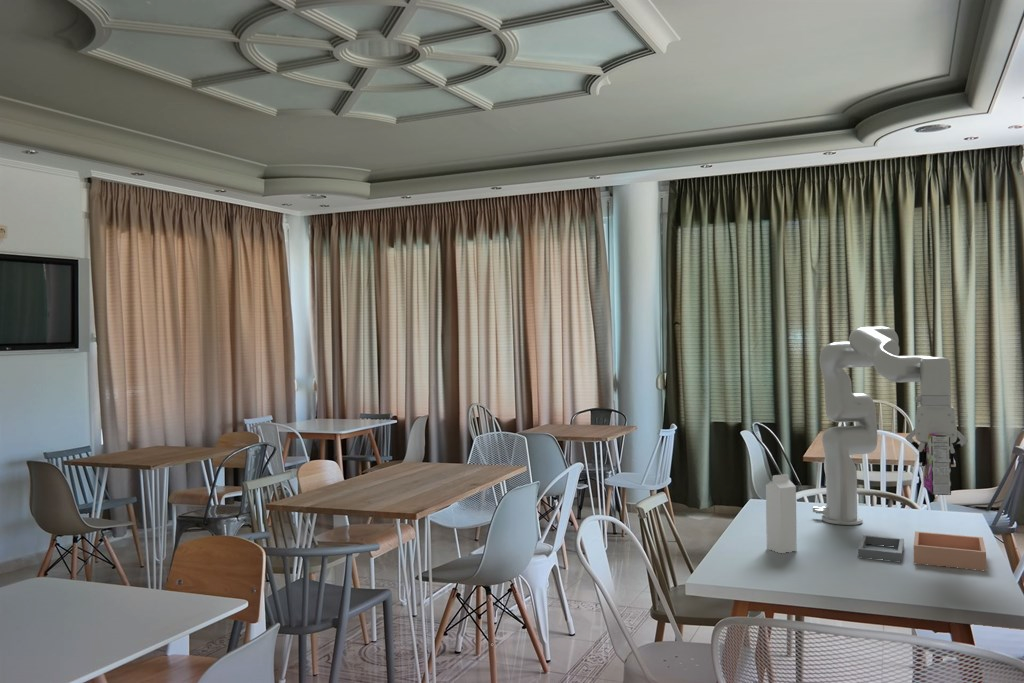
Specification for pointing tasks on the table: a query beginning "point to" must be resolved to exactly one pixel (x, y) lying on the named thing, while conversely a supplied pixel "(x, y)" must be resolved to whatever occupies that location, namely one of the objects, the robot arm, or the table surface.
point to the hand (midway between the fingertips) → (936, 465)
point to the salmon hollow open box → (949, 550)
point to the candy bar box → (937, 464)
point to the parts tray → (880, 553)
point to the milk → (781, 514)
